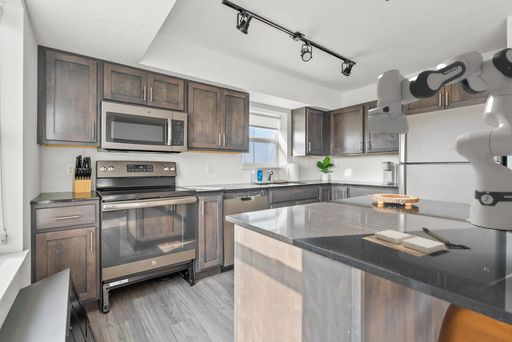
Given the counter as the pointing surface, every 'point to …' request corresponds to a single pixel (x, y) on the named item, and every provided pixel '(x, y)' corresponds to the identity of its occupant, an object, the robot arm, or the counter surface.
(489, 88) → the robot arm
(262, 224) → the counter surface
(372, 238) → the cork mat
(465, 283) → the counter surface
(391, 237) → the tile far
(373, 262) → the counter surface
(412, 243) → the tile near
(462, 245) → the tomahawk
